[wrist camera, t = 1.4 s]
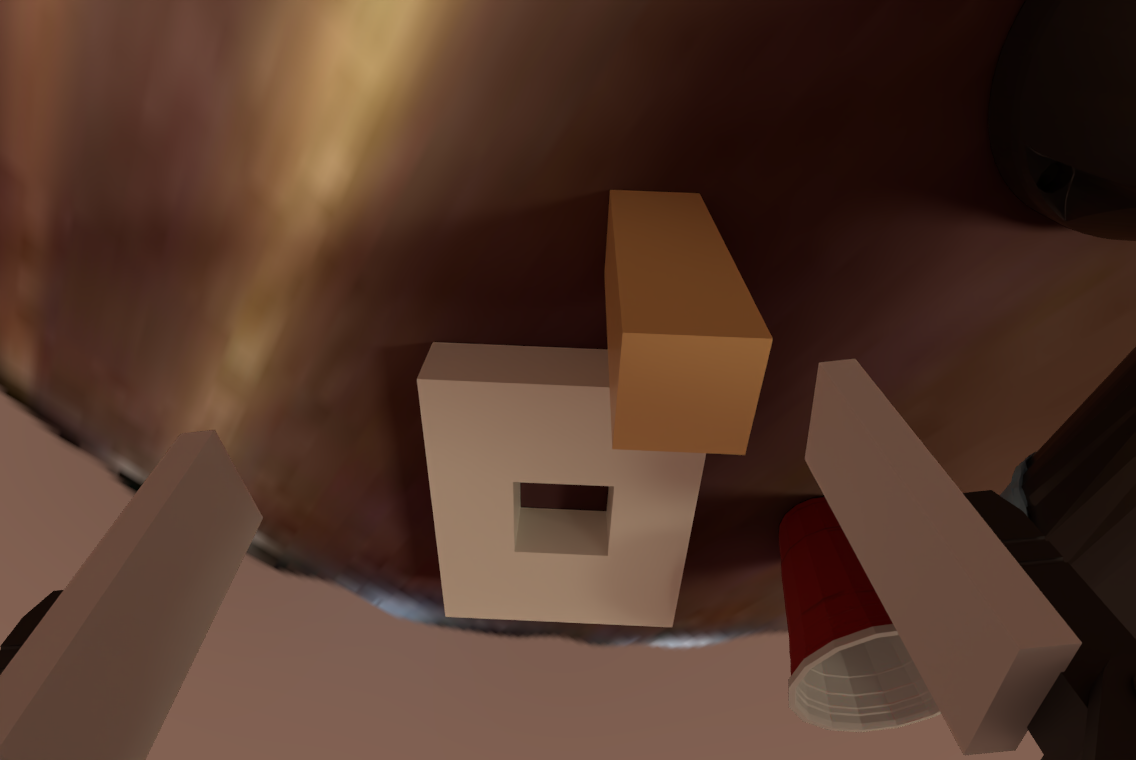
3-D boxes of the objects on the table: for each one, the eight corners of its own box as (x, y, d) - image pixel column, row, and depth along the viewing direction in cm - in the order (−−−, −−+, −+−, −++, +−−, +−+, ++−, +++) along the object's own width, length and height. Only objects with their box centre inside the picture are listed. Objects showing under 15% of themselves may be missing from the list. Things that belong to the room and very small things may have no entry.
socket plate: (706, 353, 36) (718, 392, 33) (666, 581, 47) (672, 627, 44) (432, 342, 36) (416, 379, 33) (455, 571, 47) (445, 616, 44)
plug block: (699, 193, 31) (772, 338, 19) (687, 276, 34) (745, 454, 21) (609, 189, 31) (622, 332, 19) (604, 273, 34) (612, 449, 21)
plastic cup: (800, 598, 48) (856, 764, 38) (711, 525, 44) (747, 689, 34) (933, 529, 43) (1036, 696, 33) (847, 441, 39) (935, 600, 29)
